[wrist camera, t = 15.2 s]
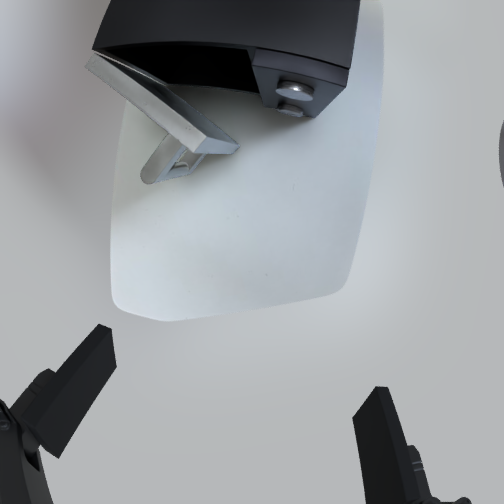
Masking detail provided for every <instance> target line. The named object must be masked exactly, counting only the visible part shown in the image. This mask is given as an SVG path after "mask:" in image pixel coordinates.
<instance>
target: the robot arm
mask: <svg viewBox="0 0 504 504" xmlns="http://www.w3.org/2000/svg"><path fill="white" fill-rule="evenodd" d="M116 367H117V366H116V360H115V353H114V346H113V337H112V329H111V328H108V327H106V326H103V325H101V324H98V325H97V326H96V327H95V328H94V330H93V331H92V332H91V333H90V334H89V335H88V336H87V337H86V338H85V339H84V341H83V342H82V343H81V344H80V345H79V346H78V347H77V348H76V350H75V351H74V352H73V353H72V354H71V355H70V356H69V357H68V359H67V360H66V361H65V362H64V363H63V364H62V366H61V367H60V368H59V369H58V370H57V372H56V373H55V372H54V371H52V370H50V369H46V370H44V371H43V372H41V373H40V374H38V376H37V377H36V378H35V379H34V380H33V382H32V383H31V384H30V385H29V386H28V388H26V389H25V391H24V392H23V393H22V394H21V396H20V397H19V398H18V399H17V400H16V402H15V403H14V404H13V405H12V407H11V408H10V409H8V407H7V406H6V404H5V403H4V401H2V400H1V399H0V504H53V501H52V498H51V495H50V492H49V488H48V485H47V481H46V478H45V474H44V470H43V466H42V462H41V457H40V452H39V449H38V447H39V446H40V444H41V445H42V447H43V448H44V449H45V450H46V451H47V452H49V453H51V454H52V455H53V456H55V457H57V458H58V459H59V457H60V456H61V454H62V452H63V451H64V449H65V447H66V446H67V444H68V442H69V441H70V439H71V437H72V436H73V434H74V432H75V431H76V429H77V427H78V426H79V424H80V422H81V421H82V419H83V418H84V416H85V414H86V413H87V411H88V410H89V408H90V407H91V405H92V404H93V402H94V400H95V399H96V397H97V396H98V394H99V393H100V391H101V390H102V388H103V387H104V385H105V384H106V382H107V381H108V379H109V378H110V376H111V374H112V373H113V372H114V370H115V369H116ZM352 419H353V424H354V429H355V435H356V441H357V446H358V452H359V458H360V464H361V470H362V477H363V484H364V491H365V500H366V504H472V503H471V501H470V500H469V499H468V498H466V497H462V498H460V499H458V500H457V501H455V502H440V500H439V499H437V498H435V497H432V495H431V493H430V490H429V486H428V482H427V478H426V475H425V471H424V470H423V468H424V467H423V464H422V463H421V462H422V461H421V457H420V454H419V452H418V451H417V449H416V448H415V446H414V445H410V446H407V443H406V440H405V436H404V433H403V430H402V427H401V424H400V421H399V418H398V415H397V412H396V409H395V406H394V403H393V400H392V397H391V394H390V392H389V389H388V387H377V386H376V387H375V388H374V389H373V391H372V392H371V394H370V395H369V396H368V398H367V399H366V401H365V402H364V403H363V405H362V406H361V407H360V409H359V410H358V411H357V412H356V414H355V415H354V416H353V418H352Z"/></svg>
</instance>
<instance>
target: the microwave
mask: <svg viewBox="0 0 504 504" xmlns="http://www.w3.org/2000/svg"><path fill="white" fill-rule="evenodd" d="M359 7H360V0H111V1H110V4H109V6H108V9H107V10H106V13H105V15H104V18H103V20H102V22H101V25H100V28H99V30H98V33H97V36H96V38H95V41H94V44H93V47H92V50H94V51H97V52H99V53H101V54H104V55H106V56H108V57H110V58H113V59H115V60H117V61H119V62H121V63H123V64H125V65H127V66H130V67H131V68H133V69H135V70H137V71H139V72H141V73H143V74H145V75H147V76H149V77H151V78H153V79H155V80H157V81H159V82H160V83H162V84H164V85H180V86H194V87H205V88H215V89H223V90H231V91H238V92H244V93H250V94H256V95H261V98H262V102H263V105H264V107H268V108H273V109H276V110H277V111H278V112H280V113H283V114H286V115H290V116H296V117H302V116H307V117H311V118H316V117H317V116H318V115H319V114H320V113H321V112H322V111H323V110H324V109H325V108H326V107H327V105H328V104H329V103H330V102H331V101H333V100H334V99H335V98H336V97H337V96H338V95H339V94H340V93H341V92H342V91H343V90H344V89H345V88H346V85H347V80H348V75H349V69H350V67H351V61H352V55H353V49H354V43H355V36H356V29H357V22H358V15H359Z"/></svg>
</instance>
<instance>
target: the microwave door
mask: <svg viewBox="0 0 504 504" xmlns="http://www.w3.org/2000/svg"><path fill="white" fill-rule="evenodd" d="M85 68H87V69H88V70H89V71H91V72H92V73H93V74H95V75H96V76H97V77H99V78H100V79H101V80H103V81H104V82H105V83H107V84H108V85H109V86H111V87H112V88H113V89H114V90H116V91H117V92H118V93H120V94H121V95H122V96H123V97H125V98H126V99H127V100H129V101H130V102H131V103H132V104H134V105H135V106H136V107H137V108H139V109H140V110H141V111H142V112H144V113H145V114H146V115H147V116H149V117H150V118H151V119H152V120H154V121H155V122H156V123H157V124H158V125H160V126H161V127H162V128H163V129H165V130H166V131H167V132H168V134H167V136H166V137H165V138H164V139H163V141H162V142H161V143H160V145H159V146H158V147H157V149H156V150H155V152H154V153H153V154H152V156H151V157H150V159H149V160H148V161H147V163H146V164H145V166H144V167H143V169H142V170H141V173H140V177H141V180H142V181H143V182H144V183H145V184H153V183H157V182H161V181H165V180H169V179H173V178H177V177H181V176H185V175H189V174H190V173H191V172H192V171H193V170H194V169H195V167H196V166H197V165H198V164H199V163H200V161H201V160H202V159H203V158H204V157H205V155H206V154H207V153H213V154H233V153H234V152H235V151H236V150H237V149H238V148H239V146H240V145H239V144H238V143H236V142H235V141H234V140H233V139H232V138H230V137H229V136H228V135H227V134H226V133H224V132H223V131H222V130H221V129H220V128H218V127H217V126H216V125H215V124H213V123H212V122H211V121H210V120H208V119H207V118H206V117H205V116H203V115H202V114H201V113H200V112H198V111H197V110H196V109H194V108H193V107H192V106H191V105H189V104H188V103H187V102H185V101H184V100H183V99H181V98H180V97H179V96H177V95H176V94H175V93H173V92H172V91H171V90H169V89H168V88H167V87H165V86H163V85H161V84H159V83H157V82H155V81H154V80H152V79H150V78H148V77H146V76H144V75H142V74H140V73H138V72H136V71H134V70H131V69H129V68H127V67H125V66H123V65H121V64H118V63H117V62H114V61H112V60H110V59H107V58H105V57H103V56H101V55H98V54H96V53H94V54H93V56H92V57H91V58H90V60H89V61H88V63H87V64H86V65H85ZM186 148H187V149H189V150H188V151H187V152H186V153H185V155H184V156H183V157H182V158H181V160H180V161H179V162H176V161H177V160H178V158H179V157H180V156H181V154H182V153H183V152H184V151H185V149H186Z"/></svg>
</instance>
